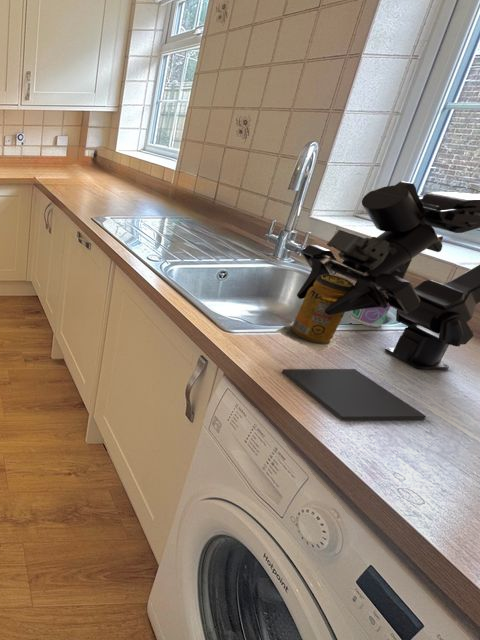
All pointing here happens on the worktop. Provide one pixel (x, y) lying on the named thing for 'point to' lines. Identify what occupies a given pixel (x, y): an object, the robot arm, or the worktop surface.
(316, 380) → the mat
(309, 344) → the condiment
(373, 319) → the spray can
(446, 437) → the worktop surface
